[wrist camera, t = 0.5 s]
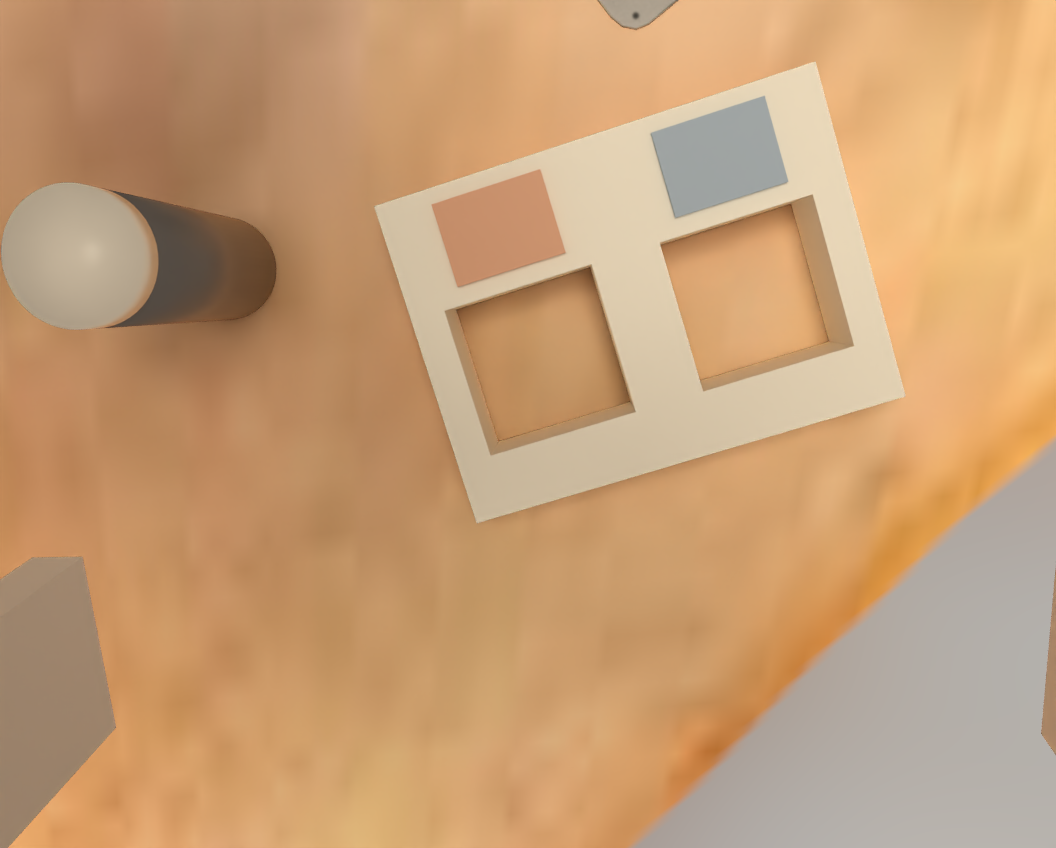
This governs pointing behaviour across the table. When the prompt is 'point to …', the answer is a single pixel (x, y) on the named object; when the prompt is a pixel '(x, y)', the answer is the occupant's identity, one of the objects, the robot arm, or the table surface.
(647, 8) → the emergency button
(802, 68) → the socket block
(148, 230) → the capped grey bottle
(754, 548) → the table surface
